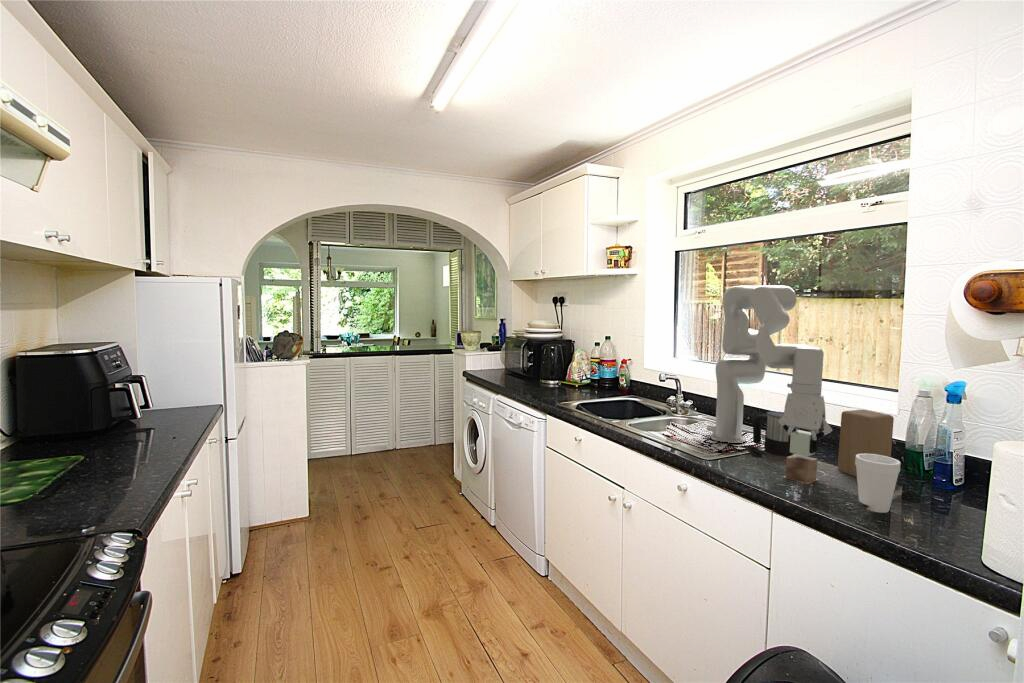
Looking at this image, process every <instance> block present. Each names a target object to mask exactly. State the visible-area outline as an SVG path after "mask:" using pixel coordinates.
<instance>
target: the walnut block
mask: <svg viewBox="0 0 1024 683" xmlns="http://www.w3.org/2000/svg"><path fill="white" fill-rule="evenodd" d="M785 465H786V466H785V476H786V477H787V478H786V479H788V478H791V479H794V480H793V481H795V480H798V481H797V482H799V481H802V482H805V483H804V484H806V483H808V482H810V481H812V480H815V479H816V478H817V469H818V458H815V457H811V456H803V455H799V454H795V453H794V454H793V455H792V456H786V463H785ZM791 479H790V480H791ZM802 482H801V483H802Z"/></svg>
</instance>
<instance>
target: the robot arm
mask: <svg viewBox="0 0 1024 683" xmlns="http://www.w3.org/2000/svg"><path fill="white" fill-rule="evenodd" d="M796 304H797V294H796V292H795V290H793V288H792V287H790V286H788V285H767V284H766V285H736V286H735V285H734V286H731V287H729V288H728V289H726V291H725V292H724V294H723V297H722V308H723V313H724V322H723V333H722V334H723V335H722V347H721V348H722V351H723V352H724V353H725V354H727V355H730V356H748V358H741V357H740V358H739V357H735V358H734V357H731V358H730V357H728V358H727V357H726V358H723V359H720V360H718V361H717V363H716V365H715V378H716V389H717V390H716V408H715V409H716V410H715V425H712V424H708V425H707V427H706V431H709V432H712V433H711V434H710V439H711V440H713V441H715V442H718V441H720V442H719V443H722V442H728V443H727V444H729V443H742V444H744V443H743V442H745V441H746V442H747V438H746V437H745V436H743V422H744V421H743V420H744V405H745V404H744V402H745V401H744V400H745V396H744V392H743V390H742V389H741V388H740V386H739V384H759V383H761V382H762V381H763V380H764V377H765V374H766V369H767V368H770V369H775V370H776V369H778V370H779V369H781V370H782V369H787V370H788V369H791V370H792V378H791V382H787V385H786V387H787V388H789V389H790V390H791V391H789V392H787V395H786V399H785V400H786V401H785V405H784V410H783V411H784V415H783V416H782V417H781V418H780V419H779V420H778V422H779V423H780V425H781V426H783V428H784V429H785V430H786V432H787V434H788V435H789V439H788V444H789V448H790V438H791V432H794V431H797V430H798V428H799V429H803V430H807V431H809V432H811V435H812V440H810V453H811V454H813V453H815V454H816V453H817V452H818V450H819V442H820V439H821V438H823V437H825V436H826V435H828V434H830V433H832V432H833V429H832V427H831V426H830V424H829V423H828V422H827V420H826V405H825V404H826V403H825V398H824V395H822V385H823V383H822V382H823V370H824V350H823V349H822V348H820V347H814V346H812V347H811V346H809V345H807V344H799V343H798V344H793V343H774V342H773V340H772V338H771V335H774V334H776V333H778V332H780V331H782V330H784V329H786V327H788V325H789V323H790V316H789V314H788V312H787V311H791V310H792V309H794V308H795V306H796ZM746 310H752V311H754V313H755V315H756V318H757V319H758V322H759V324H760V327H759V329H758V330H751V329H750V328H749V326H750V317H749V315H748V313H747V311H746ZM766 367H767V368H766ZM820 429H823V430H821V431H820ZM746 442H745V443H746ZM813 455H814V454H813Z"/></svg>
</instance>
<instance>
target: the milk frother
mask: <svg viewBox="0 0 1024 683" xmlns="http://www.w3.org/2000/svg"><path fill="white" fill-rule="evenodd" d="M783 415H784V412H783V411H775V410H774V411H767V412H766V414H765V413H763V414H759V415H757V416H755V417H754V418H753V421H752V426H753V427H752V434H753V435H752V440H753V443H754V444H755V445H756V444H758V445H759V444H760V443H761V442H762V422H763V421H765V435H764V445H763V446H764V450H761V449H760V448H758V447H756V446H753V445H751V444H750V445H749V444H748V445H746V446H745V450H746V451H747V452H748V453H749V454H750V455H752V456H753V457H754V458H761V459H762V458H766V453H767V454H770V455H774V456H780V457H789V456H792V455H794V453H791V452H790V448H789V444H788V439H789V435H788V434H787V432H786V430H785V429H784V428H783V426H781V425H780V423H779V422H778V420H779V419H780V418H781V417H782V416H783ZM765 452H766V453H765Z"/></svg>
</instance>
